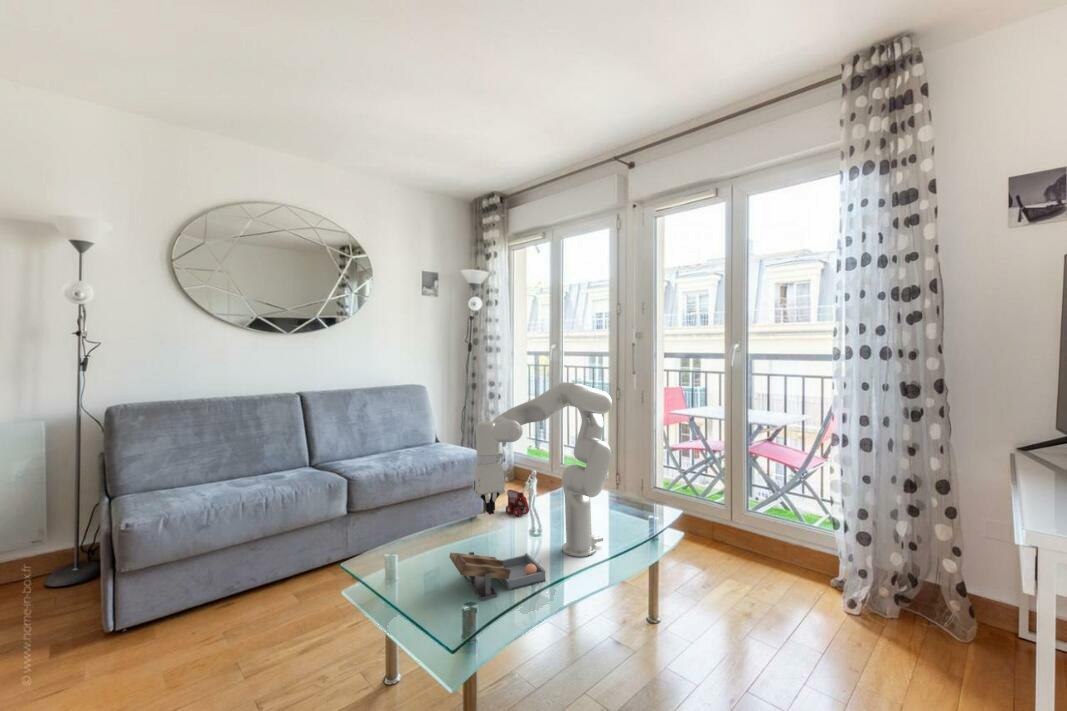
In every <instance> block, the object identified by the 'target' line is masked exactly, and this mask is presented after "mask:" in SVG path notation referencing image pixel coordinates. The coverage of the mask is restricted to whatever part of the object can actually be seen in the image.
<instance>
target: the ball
mask: <svg viewBox="0 0 1067 711" xmlns="http://www.w3.org/2000/svg"><path fill="white" fill-rule="evenodd" d="M525 573H526V575H530V574H534V573H537V568H536V566H535V565H534V564H528V565H527V566H526V567H525Z"/></svg>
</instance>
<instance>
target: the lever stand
mask: <svg viewBox="0 0 1067 711" xmlns="http://www.w3.org/2000/svg"><path fill="white" fill-rule="evenodd" d="M468 554H470V555H475V552H474V551H469V552H468ZM463 576H464V577H465V579H466V580H467V582H468V583H469V586H470V587H471V588H472V589H473V591H474V593H475V595H477V597H478V599H479V600H480V601H481V602H483V601H488V600H490V599H495V598H497V597H498V596H497V592H496V591H495V590H494V588H493V587H492V583H491V578H490V572H486V573H484V577H479V576H467V575H463Z"/></svg>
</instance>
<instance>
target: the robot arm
mask: <svg viewBox="0 0 1067 711" xmlns="http://www.w3.org/2000/svg"><path fill="white" fill-rule="evenodd" d="M612 405H613V401H612V398H611V396H610V395H609V393H608V392H606V391H604V390H601V389H597V388H593V387H591V386H587V385H584V384H581V383H577V382H570V381H569V382H565V381H563V382H560V383H558V384H556V385H554V386H553V387H551V388H549V389H547V390H546V391H544V392H543V393H542V394H540V395H538V396H536V397H535V398H533V399H531V400H528V401H526V402H523V403H520V404H518V405H516V406H514V407H511V408H509V409H507V410H506V411H504V412H502V413H501V414H499V415H497V416H496V417H495V418H494V419H493V420H492V421H489V420H488V421H480V422H478V423H477V424H476V425H475V443H476V444H475V446H476V462H475V463H474V465H473V472H472V473H473V474H472V490H473V497H474V498H475V499H481V500H483V501H484V509H485V512H486V513H487V514H488V515H494V514H495V510H496V501H497V499H498V498H499V496H501V495H504V494H505V493H506V488H505V487H506V485H505V484H506V483H505V473H504V469H503V465H502V461H501V459H502V458H503V457H504V453H501V452H500V446H499V444H500V443H514V442H517V441H518V440H520V439H521V437H522V436H523V431H524V430H523V425H526V424H530V423H536V422H537V423H539V422H542V421H546V420H548V419H549V418H550V417H552V416H554V415H555V414H556V413H558V412H560V411H562V410H563V409H564V408H566V407H572V408H577V410H578V413H579V414H580V418H581V424H580V428H579V431H578V435H577V438H576V441H575V444H574V448H573V456H574V458H575V459H576V460H577V461H579V462H581V463H583V464H586V466H583V465H579V464H570V465H567V466H566V467H565V468H564V470H563V471H562V475H561V483H562V490H563V493H564V506H565V508H564V509H565V510H564V511H565V512H564V513H565V538H566V540H565V541H566V542H565V543H563V544H562V552H563V553H564V554H566V555H568V556H571V557H578V558H579V557H581V558H583V557H588V555H589V556H592V555H593V554H595V553H596V551H597V546H596V544H597V543H600V542H603V541H604V537H603V536H602V535H599V536H597V535H596V534H594V535H592V507H591V506H592V505H591V502H592V501H591V498H595V497H597V496H599V495H600V494H601V492H602V490H603V488H604V486H605V482H606V479H607V476H608V472H609V469H610V467H611V466H610V465H611V461H612V449H611V447H610V445H609V444H608V443H607V442H605V441H603V440H602V437H603V431H604V426H605V425H604V424H605V423H604V418H603V415H605V414H607V413H608V412H610V410H611V408H612ZM489 495H490V497H489ZM591 554H592V555H591Z"/></svg>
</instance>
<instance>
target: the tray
mask: <svg viewBox="0 0 1067 711" xmlns="http://www.w3.org/2000/svg"><path fill="white" fill-rule="evenodd" d="M502 560H503V567H504V568H510V569H511V571H510V576H509V579H502V578H498V579H499V580H500V582H501V583H502V584H503V585H504V587H506V589H507V590H508V591H513V590H517V589H521V588H524V587H529V586H532V585H537V584H540V583H539V582H541V583H543V581H544V582H546V580H547V579H546V578H547V577H546V570H545V568H544V567H543V566H542V565H540V564H539V563H538V562H537V561H536V560H535V559H534V558H533V557H532V556H530V555H529V553H528V552H526V553H524V554H523V555H519V556H515V557H511V558H506V559H505V558H504V559H502ZM528 564H534V565H535V566H536V568H537V573H534V574H530V575H526V573H525V567H526V566H527V565H528ZM536 583H537V584H536Z"/></svg>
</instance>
